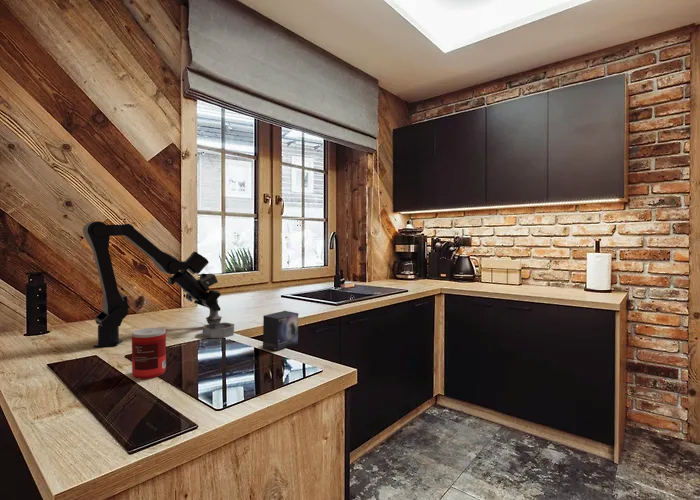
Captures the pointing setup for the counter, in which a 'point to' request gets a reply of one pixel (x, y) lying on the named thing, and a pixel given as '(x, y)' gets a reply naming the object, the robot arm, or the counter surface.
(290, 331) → the small box
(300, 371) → the counter surface
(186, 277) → the robot arm
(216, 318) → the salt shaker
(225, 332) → the grey polygonal dish
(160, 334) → the canned food
